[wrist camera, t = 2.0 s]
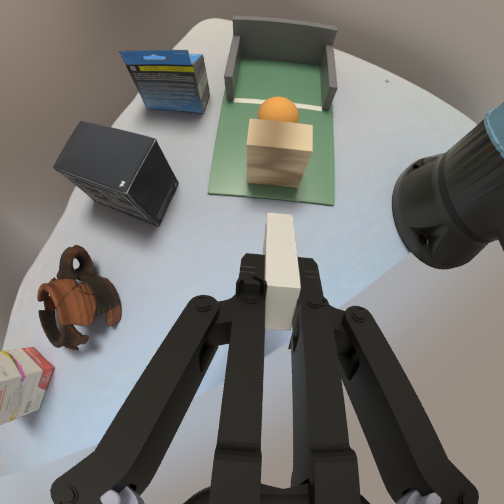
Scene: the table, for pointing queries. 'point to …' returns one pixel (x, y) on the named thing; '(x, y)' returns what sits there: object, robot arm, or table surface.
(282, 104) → the ball
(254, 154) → the wooden block
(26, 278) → the table surface
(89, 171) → the small box
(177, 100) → the label tape cartridge
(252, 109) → the pitch
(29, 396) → the ink cartridge box
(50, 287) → the pottery mug
